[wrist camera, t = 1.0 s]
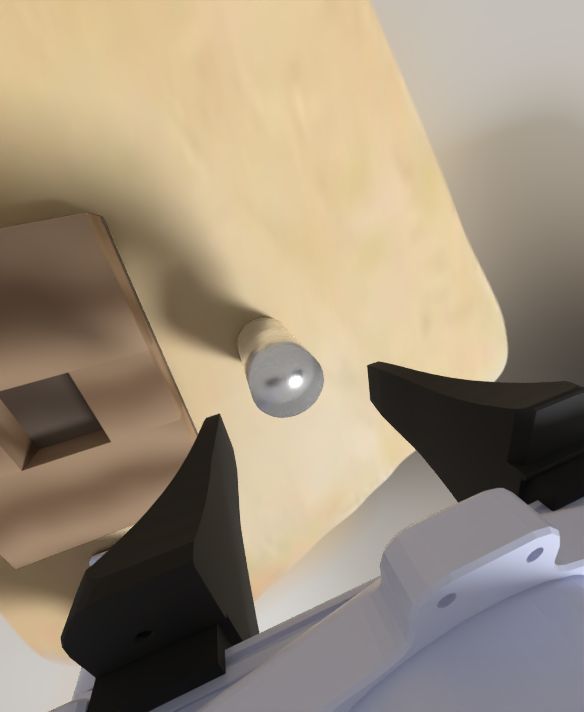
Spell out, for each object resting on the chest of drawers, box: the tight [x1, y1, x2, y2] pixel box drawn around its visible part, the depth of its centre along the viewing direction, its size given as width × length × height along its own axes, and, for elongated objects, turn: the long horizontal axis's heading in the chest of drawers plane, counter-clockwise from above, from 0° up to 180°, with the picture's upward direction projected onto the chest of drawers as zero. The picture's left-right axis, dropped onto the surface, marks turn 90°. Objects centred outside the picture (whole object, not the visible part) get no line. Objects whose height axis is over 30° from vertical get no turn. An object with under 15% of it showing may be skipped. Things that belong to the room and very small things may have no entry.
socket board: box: [0, 212, 198, 569], centre depth 17 cm, size 20×14×2 cm
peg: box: [238, 317, 324, 418], centre depth 18 cm, size 4×4×7 cm
